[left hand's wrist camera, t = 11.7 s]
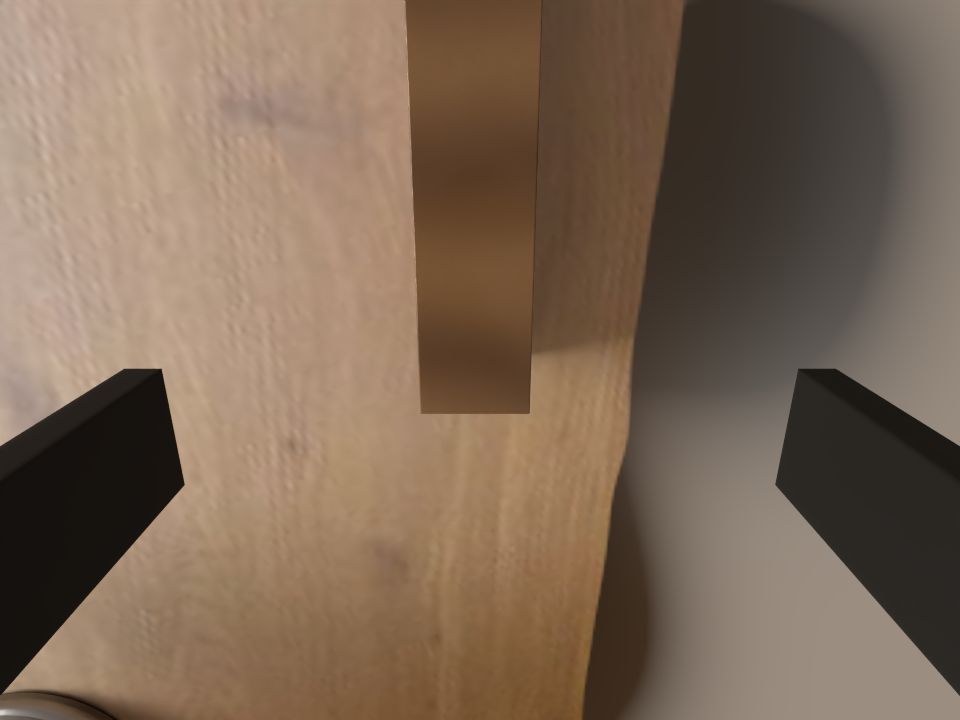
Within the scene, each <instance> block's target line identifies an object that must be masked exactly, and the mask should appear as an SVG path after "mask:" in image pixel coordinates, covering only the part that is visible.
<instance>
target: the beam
mask: <svg viewBox="0 0 960 720" xmlns="http://www.w3.org/2000/svg"><path fill="white" fill-rule="evenodd" d="M405 26H406V51H407V77H408V103H409V128H410V154H411V179H412V205H413V231H414V256H415V282H416V307H417V333H418V359H419V384H420V410H421V414H529V413H530V381H531V349H532V317H533V285H534V253H535V221H536V189H537V157H538V125H539V93H540V61H541V29H542V0H405Z"/></svg>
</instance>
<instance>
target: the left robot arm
mask: <svg viewBox="0 0 960 720" xmlns="http://www.w3.org/2000/svg"><path fill="white" fill-rule="evenodd" d="M184 485H185V484H184V479H183V474H182V469H181V464H180V459H179V454H178V449H177V444H176V439H175V434H174V429H173V424H172V419H171V414H170V409H169V404H168V399H167V394H166V389H165V384H164V379H163V374H162V369H123V370H122V371H120V372H118V373H117V374H115V375H114V376H112V377H110V378H109V379H107V380H106V381H104V382H102V383H101V384H99V385H98V386H96V387H94V388H93V389H91V390H90V391H88V392H86V393H85V394H83V395H82V396H80V397H78V398H77V399H75V400H74V401H72V402H70V403H69V404H67V405H66V406H64V407H62V408H61V409H59V410H58V411H56V412H54V413H53V414H51V415H50V416H48V417H46V418H45V419H43V420H42V421H40V422H38V423H37V424H35V425H34V426H32V427H30V428H29V429H27V430H26V431H24V432H22V433H21V434H19V435H18V436H16V437H14V438H13V439H11V440H10V441H8V442H6V443H5V444H3V445H2V446H0V720H113V719H112V718H110V717H108V716H107V715H105V714H104V713H102V712H100V711H98V710H96V709H94V708H92V707H90V706H88V705H85V704H83V703H80V702H77V701H74V700H71V699H68V698H64V697H60V696H55V695H50V694H42V693H28V692H26V693H9V694H3V695H1V694H2V693H3V692H4V691H5V690H6V689H7V687H8V686H9V685H10V684H11V683H12V682H13V681H14V679H15V678H16V677H17V676H18V675H19V674H20V673H21V671H22V670H23V669H24V668H25V667H26V666H27V665H28V663H29V662H30V661H31V660H32V659H33V658H34V657H35V655H36V654H37V653H38V652H39V651H40V650H41V649H42V647H43V646H44V645H45V644H46V643H47V642H48V641H49V639H50V638H51V637H52V636H53V635H54V634H55V633H56V631H57V630H58V629H59V628H60V627H61V626H62V625H63V623H64V622H65V621H66V620H67V619H68V618H69V617H70V615H71V614H72V613H73V612H74V611H75V610H76V609H77V607H78V606H79V605H80V604H81V603H82V602H83V601H84V599H85V598H86V597H87V596H88V595H89V594H90V592H91V591H92V590H93V589H94V588H95V587H96V586H97V584H98V583H99V582H100V581H101V580H102V579H103V578H104V576H105V575H106V574H107V573H108V572H109V571H110V570H111V568H112V567H113V566H114V565H115V564H116V563H117V562H118V560H119V559H120V558H121V557H122V556H123V555H124V554H125V552H126V551H127V550H128V549H129V548H130V547H131V546H132V544H133V543H134V542H135V541H136V540H137V539H138V538H139V536H140V535H141V534H142V533H143V532H144V531H145V530H146V528H147V527H148V526H149V525H150V524H151V523H152V522H153V520H154V519H155V518H156V517H157V516H158V515H159V514H160V512H161V511H162V510H163V509H164V508H165V507H166V506H167V504H168V503H169V502H170V501H171V500H172V499H173V498H174V496H175V495H176V494H177V493H178V492H179V491H180V490H181V488H182V487H183V486H184ZM775 485H776V486H777V487H778V488H779V490H780V491H781V492H782V493H783V494H784V495H785V496H786V498H787V499H788V500H789V501H790V502H791V503H792V504H793V505H794V507H795V508H796V509H797V510H798V511H799V512H800V514H801V515H802V516H803V517H804V518H805V519H806V520H807V521H808V523H809V524H810V525H811V526H812V527H813V528H814V530H815V531H816V532H817V533H818V534H819V535H820V536H821V538H822V539H823V540H824V541H825V542H826V543H827V544H828V546H829V547H830V548H831V549H832V550H833V551H834V552H835V554H836V555H837V556H838V557H839V558H840V559H841V560H842V562H843V563H844V564H845V565H846V566H847V567H848V568H849V570H850V571H851V572H852V573H853V574H854V575H855V576H856V578H857V579H858V580H859V581H860V582H861V583H862V584H863V586H864V587H865V588H866V589H867V590H868V591H869V592H870V594H871V595H872V596H873V597H874V598H875V599H876V601H877V602H878V603H879V604H880V605H881V606H882V607H883V608H884V610H885V611H886V612H887V613H888V614H889V615H890V616H891V618H892V619H893V620H894V621H895V622H896V623H897V624H898V626H899V627H900V628H901V629H902V630H903V631H904V633H905V634H906V635H907V636H908V637H909V638H910V639H911V641H912V642H913V643H914V644H915V645H916V646H917V647H918V648H919V650H920V651H921V652H922V653H923V654H924V655H925V657H926V658H927V659H928V660H929V661H930V662H931V663H932V665H933V666H934V667H935V668H936V669H937V670H938V671H939V673H940V674H941V675H942V676H943V677H944V678H945V679H946V681H947V682H948V683H949V684H950V685H951V686H952V687H953V689H954V690H955V691H956V692H957V693H958V694H959V695H960V446H958V445H957V444H955V443H954V442H952V441H950V440H949V439H947V438H946V437H944V436H942V435H941V434H939V433H938V432H936V431H934V430H933V429H931V428H930V427H928V426H926V425H925V424H923V423H922V422H920V421H918V420H917V419H915V418H914V417H912V416H910V415H909V414H907V413H906V412H904V411H902V410H901V409H899V408H898V407H896V406H894V405H893V404H891V403H890V402H888V401H886V400H885V399H883V398H882V397H880V396H878V395H877V394H875V393H874V392H872V391H870V390H869V389H867V388H866V387H864V386H862V385H861V384H859V383H858V382H856V381H854V380H853V379H851V378H850V377H848V376H846V375H845V374H843V373H842V372H840V371H838V370H837V369H798V374H797V379H796V384H795V389H794V394H793V399H792V404H791V409H790V414H789V419H788V424H787V429H786V434H785V439H784V444H783V449H782V454H781V459H780V464H779V469H778V474H777V479H776V484H775Z"/></svg>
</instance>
